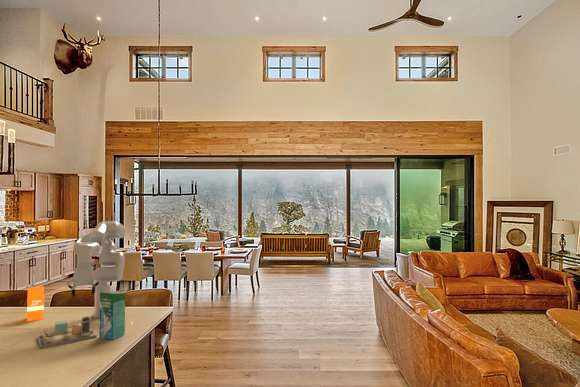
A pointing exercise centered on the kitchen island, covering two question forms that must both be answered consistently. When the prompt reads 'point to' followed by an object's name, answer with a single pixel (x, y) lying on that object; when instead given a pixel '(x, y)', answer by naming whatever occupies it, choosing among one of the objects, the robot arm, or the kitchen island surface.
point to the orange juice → (35, 303)
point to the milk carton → (112, 315)
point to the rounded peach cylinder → (76, 329)
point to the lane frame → (62, 341)
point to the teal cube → (61, 327)
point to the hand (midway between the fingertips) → (83, 295)
